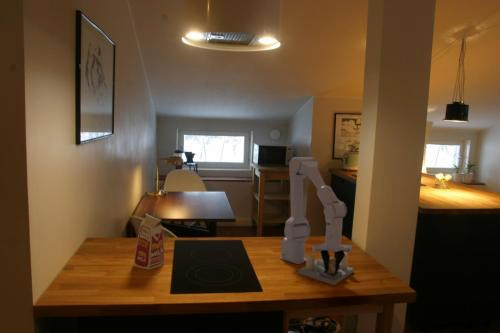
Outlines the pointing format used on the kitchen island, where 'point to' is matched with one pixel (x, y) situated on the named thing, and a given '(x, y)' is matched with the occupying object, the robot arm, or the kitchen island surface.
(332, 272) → the leg peg
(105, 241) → the kitchen island surface
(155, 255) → the milk carton
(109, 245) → the kitchen island surface
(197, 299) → the kitchen island surface
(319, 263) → the bar
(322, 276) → the board
